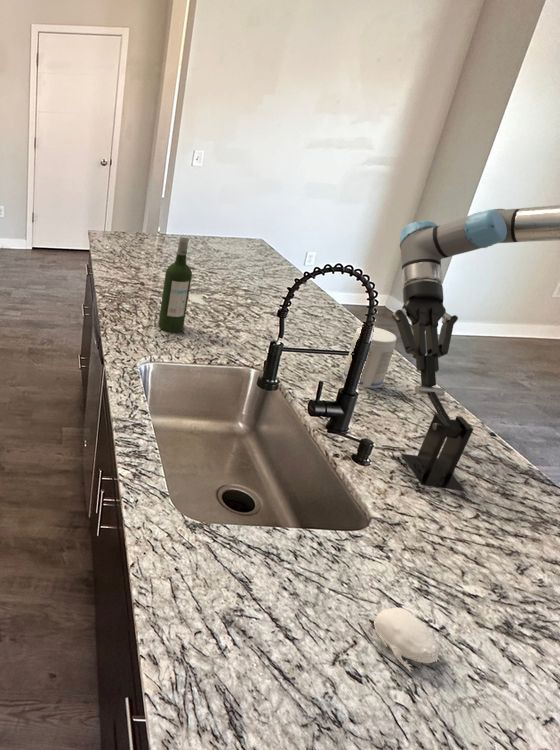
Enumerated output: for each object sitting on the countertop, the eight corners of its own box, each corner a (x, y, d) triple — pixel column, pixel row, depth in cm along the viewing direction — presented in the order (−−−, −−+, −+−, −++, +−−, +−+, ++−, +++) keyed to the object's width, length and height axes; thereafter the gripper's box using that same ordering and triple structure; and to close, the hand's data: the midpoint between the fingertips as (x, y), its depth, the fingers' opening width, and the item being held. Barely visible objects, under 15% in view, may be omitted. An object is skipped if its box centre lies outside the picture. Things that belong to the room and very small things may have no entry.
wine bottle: (174, 320, 178) (188, 232, 165) (187, 331, 171) (203, 239, 158) (153, 323, 176) (166, 233, 163) (165, 333, 169) (179, 241, 156)
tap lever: (413, 390, 117) (417, 382, 116) (438, 393, 116) (443, 385, 115) (437, 436, 106) (442, 427, 105) (464, 439, 106) (470, 431, 104)
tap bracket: (399, 457, 117) (420, 404, 111) (439, 463, 116) (463, 409, 110) (419, 489, 108) (444, 433, 102) (462, 495, 107) (490, 439, 101)
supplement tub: (373, 375, 149) (390, 328, 143) (386, 393, 141) (404, 343, 135) (336, 371, 151) (351, 324, 144) (347, 388, 142) (363, 339, 136)
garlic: (447, 663, 75) (457, 646, 74) (409, 676, 73) (419, 659, 72) (398, 613, 82) (406, 596, 80) (363, 624, 80) (371, 607, 79)
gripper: (443, 295, 126) (451, 393, 118) (383, 289, 127) (387, 386, 120) (463, 282, 118) (473, 386, 111) (400, 276, 120) (405, 377, 113)
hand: (428, 385), depth 116 cm, fingers closed
